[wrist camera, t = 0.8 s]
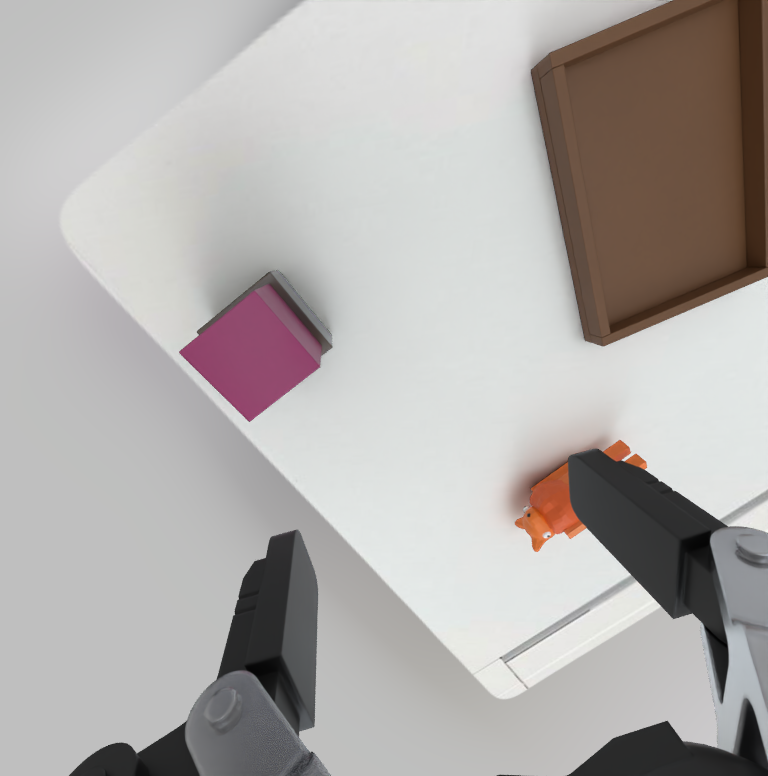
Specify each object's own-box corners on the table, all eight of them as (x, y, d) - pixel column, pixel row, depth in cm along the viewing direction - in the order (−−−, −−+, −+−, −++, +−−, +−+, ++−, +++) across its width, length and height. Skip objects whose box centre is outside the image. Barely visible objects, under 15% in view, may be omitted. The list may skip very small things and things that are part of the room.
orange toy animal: (656, 458, 30) (529, 547, 31) (663, 497, 34) (553, 573, 35) (605, 419, 34) (494, 499, 35) (618, 458, 38) (520, 528, 39)
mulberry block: (207, 333, 24) (178, 352, 19) (269, 283, 23) (254, 290, 19) (263, 391, 26) (249, 422, 21) (322, 346, 25) (320, 366, 20)
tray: (530, 70, 25) (549, 53, 23) (735, -18, 25) (774, -44, 23) (584, 340, 32) (603, 347, 30) (745, 272, 32) (776, 273, 30)
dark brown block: (213, 321, 27) (195, 332, 24) (278, 269, 27) (269, 271, 23) (271, 383, 29) (263, 401, 26) (332, 335, 29) (333, 347, 25)
